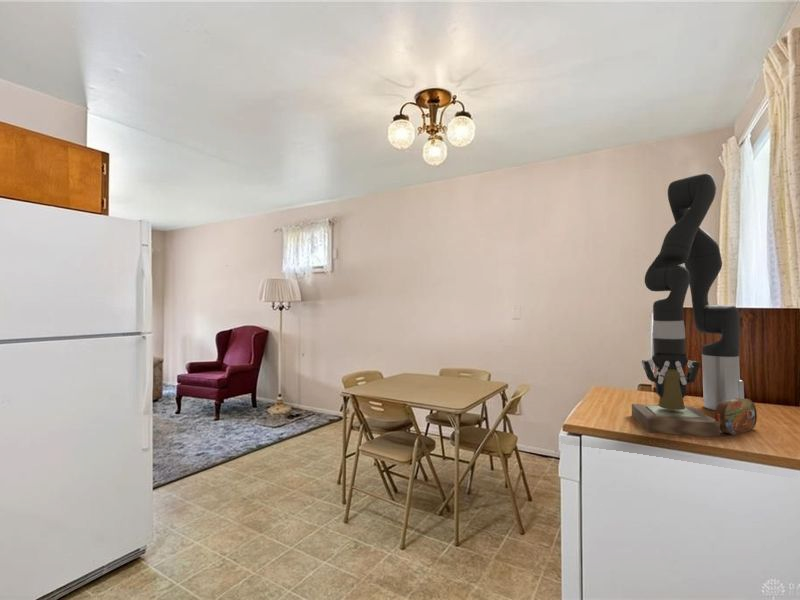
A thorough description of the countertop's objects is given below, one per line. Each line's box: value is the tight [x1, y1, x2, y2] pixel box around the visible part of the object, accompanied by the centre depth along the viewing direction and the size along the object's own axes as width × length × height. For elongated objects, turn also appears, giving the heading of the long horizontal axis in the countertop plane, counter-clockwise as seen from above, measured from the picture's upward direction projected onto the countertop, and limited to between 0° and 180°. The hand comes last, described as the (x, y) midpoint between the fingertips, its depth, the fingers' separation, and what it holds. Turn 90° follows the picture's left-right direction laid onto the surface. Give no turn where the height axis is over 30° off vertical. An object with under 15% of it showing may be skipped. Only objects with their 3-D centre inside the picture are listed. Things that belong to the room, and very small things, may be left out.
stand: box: [631, 403, 721, 438], centre depth 108 cm, size 16×16×4 cm
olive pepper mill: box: [658, 369, 685, 410], centre depth 108 cm, size 6×6×11 cm
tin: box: [714, 398, 758, 436], centre depth 102 cm, size 15×3×8 cm, turn 114°
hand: (671, 396), depth 108 cm, fingers open, 4 cm apart
